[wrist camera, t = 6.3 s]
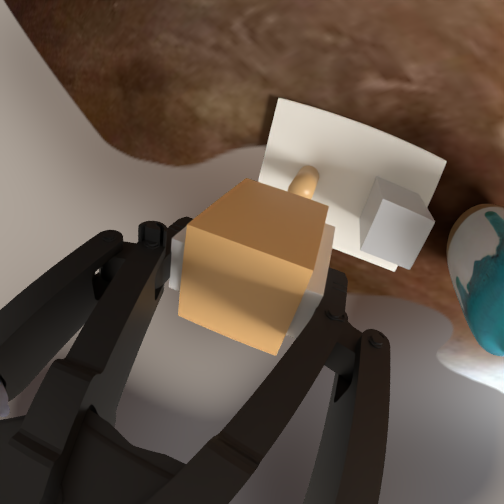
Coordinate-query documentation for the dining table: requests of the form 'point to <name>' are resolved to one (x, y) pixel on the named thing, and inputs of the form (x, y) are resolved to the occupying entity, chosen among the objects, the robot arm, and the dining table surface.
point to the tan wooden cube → (250, 263)
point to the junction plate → (355, 181)
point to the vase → (480, 272)
